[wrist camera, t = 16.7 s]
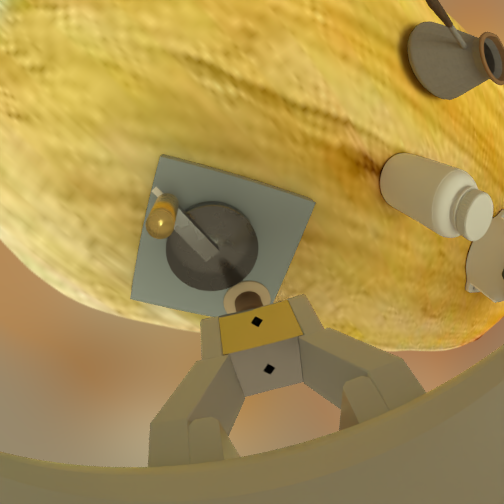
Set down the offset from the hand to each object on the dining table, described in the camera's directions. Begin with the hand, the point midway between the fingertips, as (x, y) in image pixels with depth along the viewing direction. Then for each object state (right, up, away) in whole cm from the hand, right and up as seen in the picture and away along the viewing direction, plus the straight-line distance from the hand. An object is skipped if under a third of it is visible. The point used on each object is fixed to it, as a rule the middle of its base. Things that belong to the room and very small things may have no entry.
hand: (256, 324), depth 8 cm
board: (-4, +3, +28) cm, 28 cm away
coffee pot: (+20, +29, +20) cm, 40 cm away
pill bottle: (+20, +12, +28) cm, 37 cm away
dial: (-6, +4, +24) cm, 25 cm away
